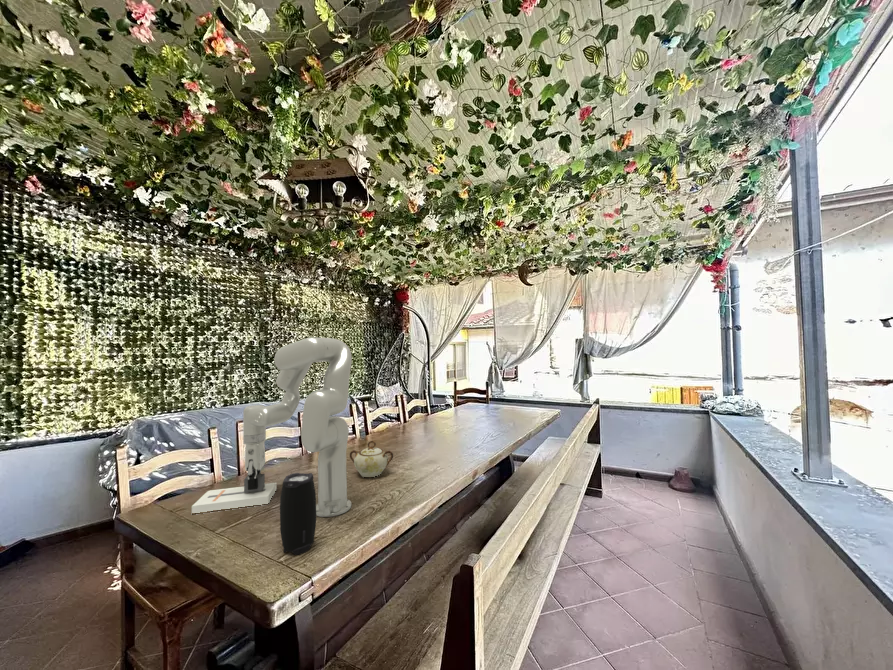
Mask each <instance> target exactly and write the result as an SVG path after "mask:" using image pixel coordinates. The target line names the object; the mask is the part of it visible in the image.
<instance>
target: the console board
mask: <svg viewBox="0 0 893 670" xmlns="http://www.w3.org/2000/svg"><path fill="white" fill-rule="evenodd" d="M275 491H277V482H269V483H268V482H267V483H265V487H264V489H263V490H262V491H256V492H248V493H244V485H243V486H238V487H237V486H236V487H228V488H221V489H220V488H219V489H211V490H207V491H206V492H205V493H204V494H203V495H202V496H201V497H200V498H199V499H198V500H196V501H195V503H193V504H192V505H191V514H192V513H200V512H207V511H213V510H221V509H230V508H238V507H245V506H253V505H261V506H263V505H262V504H268V503H269V504H270V502H271V501H272V499H273V497H274V495H275V493H276V492H275ZM272 496H273V497H272ZM271 498H272V499H271ZM270 500H271V501H270ZM269 504H268V505H269Z"/></svg>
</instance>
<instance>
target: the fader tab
mask: <svg viewBox="0 0 893 670" xmlns="http://www.w3.org/2000/svg"><path fill="white" fill-rule="evenodd" d="M265 477H266V476H265V473H261V474H258V475H257V478H258V488H257V489H253V490H248V475H246V476H245V478H244V479H243V481H244V482H243V486H244V493H248V492H256V491H262V490H263V489H264V487H265V484H266V483H265V482H266V480H265Z"/></svg>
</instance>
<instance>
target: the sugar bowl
mask: <svg viewBox="0 0 893 670" xmlns="http://www.w3.org/2000/svg"><path fill="white" fill-rule="evenodd" d="M371 443H373V446H370V445H371ZM376 445H377V444H376V441H374V440H370V441H368V443H367V447H366V448H364V449H361V450H355V449H353V450H352V451H350V452H349V458H350V460H351V461H352V463H353V465H354V466H355V470H356V471H357V472H358V473H359V474H360V476H361V477H362V478H364V477H374V478H376V477H375V476H377V477H379V476H381V475H382V473H383V472H384V470H385V469H386V468H387V467H388V465H389V464H390V462H391V461H392V460H393V458H394V454H393V451H391V450H386V451H385V450H384V449H382V448H378V447H377V446H376ZM353 453H354V454H355V456H354V458H353V456H352V454H353ZM387 454H389V455H390V458H389V457H388V455H387ZM380 474H381V475H380ZM378 475H379V476H378Z"/></svg>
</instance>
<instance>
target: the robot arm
mask: <svg viewBox="0 0 893 670" xmlns="http://www.w3.org/2000/svg"><path fill="white" fill-rule="evenodd" d="M352 358H353V357H352V352H351V349H350V347H349V345H347V344H346V343H345V342H343V341H342V340H341V339H337V338H333V337H316V336H315V337H313V336H312V337H306V338H303V339H301V340H298V341H295V342H291V343H289V344H286V345H284V346H282V347H280V348H279V349H278V350H277V351H276V352H275V355H274V358H273V359H274V360H273V361H274V364H275V366H276V368H277V369H279V370H280V372H279V374H278V375H277V377H276V379H275V383H276V385H277V386H278V387H279V389H282V391H284V392H285V393H284V396H283V398H282V399H281V401H280V402H279V403H275V404H271V405H262V404H254V405H248V406H245V408H244V409H243V412H242V413H243V416H242V417H243V418H242V419H243V420H242V422H243V423H242V424H243V430H242V434H243V437H242V440H243V441H242V442H243V445H245V454H244V456H245V457H244V470H245V471H246V472H247V476H248V490H253V489H257V488H258V478H257V475H258V474H262V468H263V467H264V465H265V464H266V447H265V446H266V445H265V442H266V441H267V430H266V429H267V428H268V427H272V426H275V425H278V424H282V423H285V422H287V421H288V420H290V419H291V418H292V416H293V415H294V413H296V410H297V408H298V407H299V405H300V398H301V396H300V395H301V393H300V386H301V384H302V383H303V381H304V379H305V377H306V375H307V374H308V371H309V370H310V368H311V366H312V364H313V363H322V362H323V363H324V362H325V363H327V362H328V363H329V364H328V365H327V366H328V367H327V368H326V371H325V373H324V379H323V386H322V388H320V389H317V390H314V391H312V392H311V393H309V394H308V396H307V397H306V398H305V400H304V403H303V411H302V419H301V420H302V422H301V431H300V434H301V435H300V437H301V444H302V446H303V448H304V449H305V450H306V451H307V452H310V453H318V456H317V458H318V459H317V489H318V490H317V496H318V498H317V501H318V502H317V503H316V517H320V518H330V517H337V516H340V515H343V514H345V513H347V512H348V511H349V510H350V509H351V508H352V501H351V500H350V499H348V495H347V494H348V487H347V486H348V484H347V480H348V478H347V475H348V474H347V472H348V471H347V447H348V439H349V433H350V432H349V431H350V428H349V425H348V423H347V421H346V420H345V418H342V417H341V416H340V417H339V416H334V415H337V414H340V413H342V412H344V411H345V409H347V405H348V397H349V389H350V375H351V374H350V373H351V368H352V360H353V359H352Z"/></svg>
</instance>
